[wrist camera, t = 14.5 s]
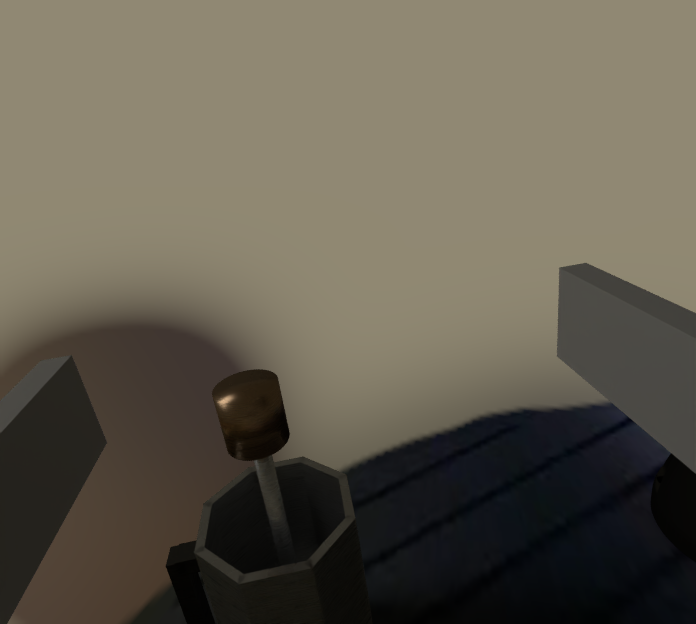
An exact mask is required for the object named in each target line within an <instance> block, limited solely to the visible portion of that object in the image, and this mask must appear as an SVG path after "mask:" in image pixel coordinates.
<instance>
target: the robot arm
mask: <svg viewBox="0 0 696 624" xmlns="http://www.w3.org/2000/svg"><path fill="white" fill-rule="evenodd" d="M558 306H559V307H558V342H557V346H558V347H557V356H558V357H559V358H560V359H561V360H562V361H564V362H565V363H566V364H567V365H568V366H569V367H570V368H572V369H573V370H574V371H575V372H576V373H578V374H579V375H580V376H581V377H582V378H583V379H585V380H586V381H587V382H588V383H589V384H590V385H592V386H593V387H594V388H595V389H596V390H598V391H599V392H600V393H601V394H602V395H603V396H605V397H606V398H607V399H608V400H609V401H610V402H612V403H613V404H614V405H615V406H616V407H618V408H619V409H620V410H621V411H622V412H623V413H625V414H626V415H627V416H628V417H629V418H631V419H632V420H633V421H634V422H635V423H636V424H638V425H639V426H640V427H641V428H642V429H644V430H645V431H646V432H647V433H648V434H649V435H651V436H652V437H653V438H654V439H655V440H657V441H658V442H659V443H660V444H661V445H662V446H664V447H665V448H666V449H667V450H668V451H670V452H671V454H670V456H669V457H668V458H667V460H666V462H665V463H664V465H663V466H662V467H661V469H660V470H659V471H658V473H657V475H656V477H655V479H654V482H653V488H652V495H651V509H652V513H653V516H654V518H655V520H656V522H657V524H658V526H659V527H660V529H661V530H662V532H663V533H664V534H665V535H666V537H667V538H668V539H669V540H670V541H671V542H672V543H673V544H674V545H675V546H676V547H677V548H678V549H679V550H681V551H682V552H683V553H684V554H686V555H687V556H688V557H690V558H691V559H692V560H694V561H695V562H696V313H694V312H692V311H690V310H688V309H685V308H683V307H681V306H679V305H677V304H674V303H672V302H670V301H668V300H665V299H664V298H661V297H659V296H657V295H655V294H653V293H650V292H648V291H646V290H644V289H642V288H640V287H637V286H635V285H633V284H631V283H629V282H626V281H624V280H622V279H620V278H618V277H615V276H613V275H611V274H609V273H607V272H605V271H603V270H600V269H598V268H596V267H594V266H591V265H589V264H587V263H583V264H577V265H572V266H566V267H561V268H559V304H558ZM106 443H107V442H106V439H105V436H104V434H103V431H102V429H101V426H100V424H99V422H98V419H97V417H96V414H95V412H94V409H93V407H92V404H91V402H90V399H89V397H88V394H87V392H86V389H85V387H84V384H83V382H82V380H81V377H80V375H79V372H78V370H77V367H76V365H75V362H74V360H73V358H72V355H70V356H65V357H59V358H53V359H48V360H42V361H40V362H39V363H38V364H37V365H36V366H35V367H34V368H33V369H32V370H31V371H30V372H29V373H28V374H27V375H26V376H25V377H24V378H23V379H22V380H21V381H20V382H19V383H18V384H17V385H16V386H15V387H14V388H13V389H12V390H11V391H10V392H9V393H8V394H7V395H6V396H5V397H4V398H3V399H1V401H0V624H7V623H8V621H9V619H10V618H11V616H12V614H13V612H14V610H15V609H16V607H17V605H18V603H19V601H20V599H21V598H22V596H23V594H24V592H25V590H26V589H27V587H28V585H29V583H30V581H31V579H32V578H33V576H34V574H35V572H36V570H37V569H38V567H39V565H40V563H41V561H42V560H43V558H44V556H45V554H46V552H47V550H48V548H49V547H50V545H51V543H52V541H53V540H54V538H55V536H56V534H57V532H58V531H59V528H60V527H61V525H62V523H63V521H64V520H65V518H66V516H67V514H68V512H69V511H70V509H71V507H72V505H73V503H74V501H75V500H76V498H77V496H78V494H79V492H80V491H81V489H82V487H83V485H84V483H85V481H86V480H87V478H88V476H89V474H90V472H91V471H92V469H93V467H94V465H95V463H96V461H97V460H98V458H99V456H100V454H101V452H102V451H103V449H104V447H105V445H106Z"/></svg>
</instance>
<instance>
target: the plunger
mask: <svg viewBox="0 0 696 624" xmlns="http://www.w3.org/2000/svg"><path fill="white" fill-rule="evenodd" d="M212 395H213V400H214V403H215V407H216V411H217V414H218V418H219V422H220V425H221V429H222V433H223V436H224V439H225V443H226V447H227V451H228V453H229V454H230V455H231V456H232V457H234V458H236V459H238V460H244V461H252V460H254V463H255V467H256V471H257V475H258V479H259V483H260V487H261V491H262V495H263V499H264V503H265V507H266V511H267V515H268V519H269V523H270V527H271V531H272V535H273V539H274V543H275V547H276V551H277V555H278V559H279V563H280V566H284V565H289V564H293V563H297V560H296V556H295V551H294V547H293V543H292V539H291V534H290V530H289V526H288V521H287V517H286V513H285V509H284V504H283V500H282V496H281V492H280V487H279V483H278V479H277V474H276V470H275V466H274V462H273V457H272V454H274V453H276V452H277V451H279V450H280V449H281V448H282V447H283V446H284V445H285V444H286V443H287V441H288V439H289V435H290V433H289V428H288V424H287V419H286V414H285V409H284V405H283V400H282V396H281V391H280V386H279V381H278V377H277V375H276V374H274V373H273V372H271V371H267V370H259V369H258V370H247V371H243V372H239V373H237V374H233V375H231V376H229V377H227V378H225V379H224V380H222V381H221V382H219V383H218V384H217V385H216V386H215V388H214V389H213V392H212Z"/></svg>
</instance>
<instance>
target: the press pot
mask: <svg viewBox="0 0 696 624" xmlns="http://www.w3.org/2000/svg"><path fill="white" fill-rule="evenodd" d="M274 466H275V470H276V474H277V479H278V483H279V487H280V492H281V496H282V500H283V504H284V509H285V513H286V517H287V521H288V526H289V530H290V534H291V539H292V543H293V547H294V551H295V556H296V560H297V563H293V564H289V565H284V566H280V563H279V559H278V555H277V551H276V547H275V543H274V539H273V535H272V531H271V527H270V523H269V519H268V515H267V511H266V507H265V503H264V499H263V495H262V491H261V487H260V483H259V479H258V475H257V471H256V467H255V466H254V467H249V468H247V469H246V470H245V471H244V472H242V473H241V474H240V475H239V476H237V477H236V478H235V479H234V480H232V481H231V482H230V483H229V484H227V485H226V486H225V487H224V488H223V489H221V490H220V491H219V492H218V493H216V494H215V495H214V496H213V497H211V498H210V499H209V500H208V501H206V502H205V503H204V504H203V511H202V515H201V520H200V526H199V531H198V536H197V541H192V542H188V543H182V544H179V545H178V546H173V547H171V548H170V552H169V556H168V560H167V564H166V568H167V571H168V573H169V576H170V579H171V581H172V584H173V587H174V589H175V592H176V595H177V598H178V600H179V603H180V606H181V608H182V611H183V614H184V616H185V619H186V622H187V624H215V621H214V618H213V616H212V613H211V610H210V607H209V604H208V601H207V598H206V595H205V592H204V589H203V586H202V583H201V580H200V577H199V574H198V572H201V575H202V578H203V581H204V584H205V587H206V590H207V593H208V596H209V598H210V601H211V604H212V607H213V610H214V613H215V616H216V619H217V622H218V624H373V621H372V615H371V609H370V603H369V597H368V591H367V585H366V579H365V572H364V566H363V560H362V554H361V548H360V542H359V536H358V530H357V524H356V518H355V515H354V510H353V505H352V501H351V496H350V491H349V485H348V479H347V475H346V474H344V473H341V472H339V471H336V470H334V469H331V468H329V467H327V466H324V465H322V464H319V463H317V462H315V461H312V460H310V459H307V458H305V457H299V458H294V459H289V460H284V461H279V462H275V463H274Z"/></svg>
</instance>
